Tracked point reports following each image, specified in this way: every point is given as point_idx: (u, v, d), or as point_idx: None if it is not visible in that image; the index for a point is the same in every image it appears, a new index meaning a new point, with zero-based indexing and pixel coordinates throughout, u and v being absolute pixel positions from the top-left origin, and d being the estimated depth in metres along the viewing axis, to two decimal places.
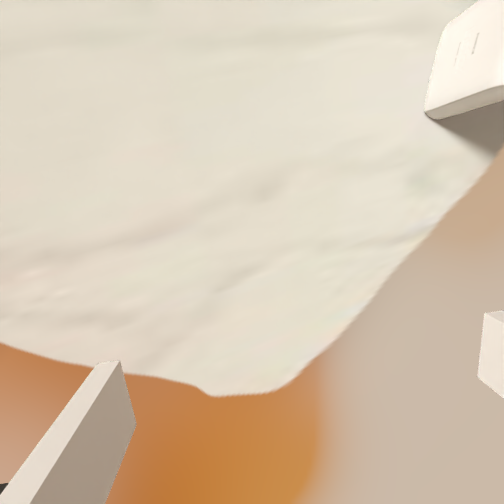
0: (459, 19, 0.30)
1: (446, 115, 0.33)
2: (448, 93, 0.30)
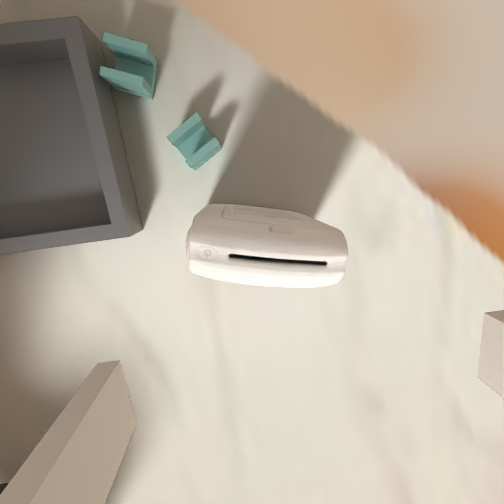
0: None
1: None
2: None
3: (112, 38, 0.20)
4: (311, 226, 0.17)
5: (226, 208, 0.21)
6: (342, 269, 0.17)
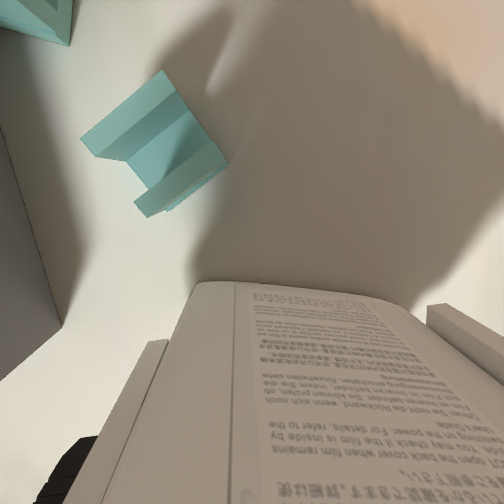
0: None
1: None
2: None
3: None
4: None
5: (239, 352, 0.07)
6: None
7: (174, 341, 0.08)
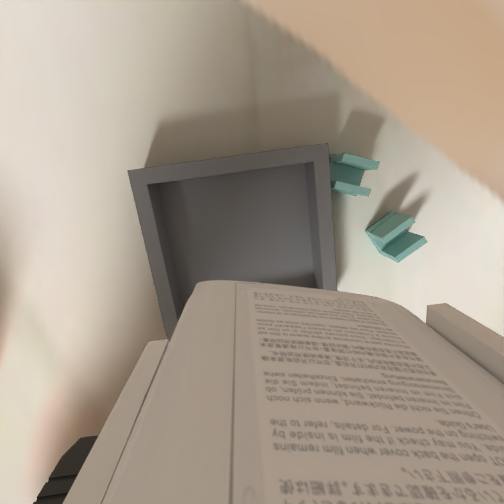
0: None
1: None
2: None
3: (350, 158, 0.23)
4: None
5: (240, 351, 0.07)
6: None
7: (175, 340, 0.08)
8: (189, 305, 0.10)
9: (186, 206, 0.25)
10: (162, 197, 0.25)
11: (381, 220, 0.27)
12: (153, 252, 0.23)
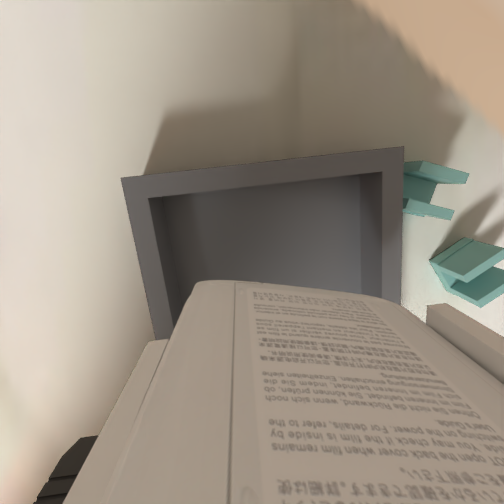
0: None
1: None
2: None
3: (431, 168, 0.16)
4: None
5: (239, 351, 0.07)
6: None
7: (174, 339, 0.08)
8: (188, 305, 0.10)
9: (199, 226, 0.19)
10: (168, 213, 0.19)
11: (452, 248, 0.21)
12: (154, 291, 0.17)
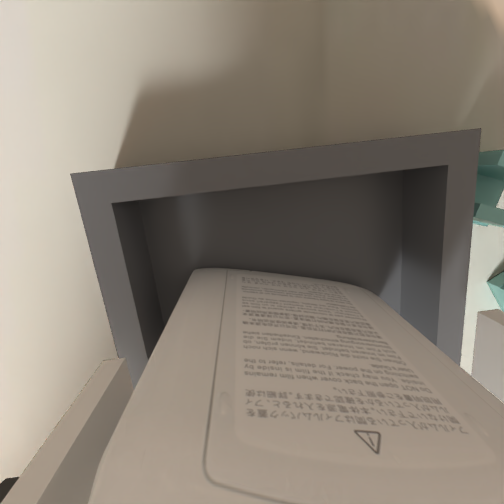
0: None
1: None
2: None
3: None
4: None
5: (226, 317, 0.09)
6: None
7: (175, 310, 0.10)
8: (187, 286, 0.12)
9: (189, 239, 0.14)
10: (146, 222, 0.14)
11: None
12: (124, 332, 0.12)
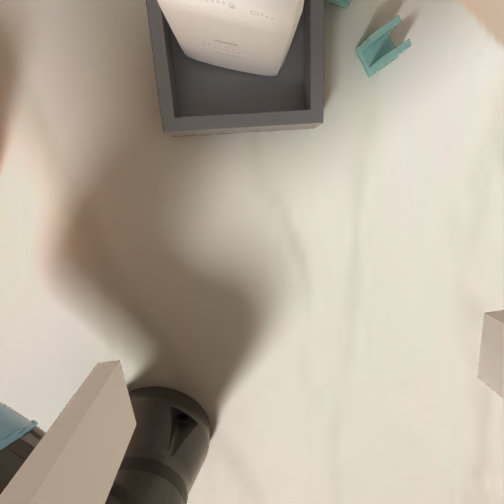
0: (187, 48, 0.26)
1: None
2: (270, 62, 0.25)
3: None
4: None
5: None
6: None
7: None
8: None
9: None
10: None
11: None
12: (154, 22, 0.25)
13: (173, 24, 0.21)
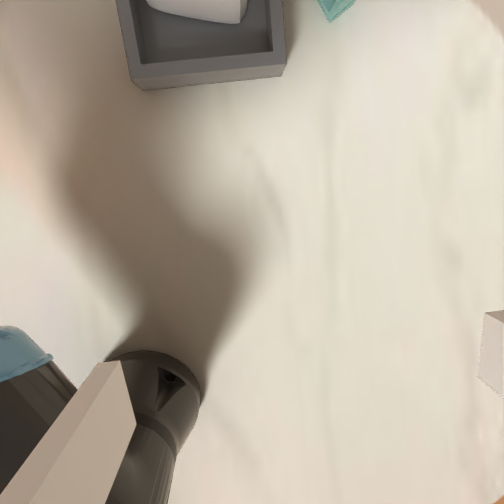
0: None
1: None
2: (229, 1, 0.26)
3: None
4: None
5: None
6: None
7: None
8: None
9: None
10: None
11: None
12: None
13: None
